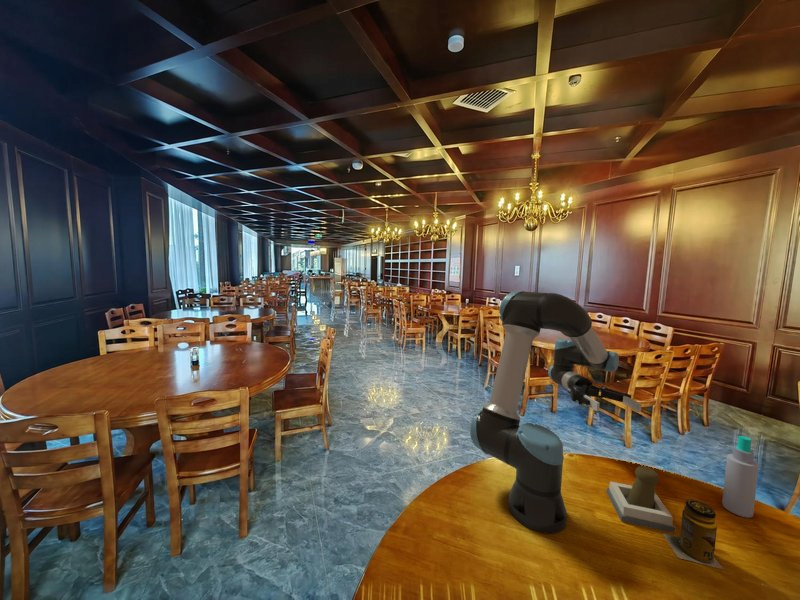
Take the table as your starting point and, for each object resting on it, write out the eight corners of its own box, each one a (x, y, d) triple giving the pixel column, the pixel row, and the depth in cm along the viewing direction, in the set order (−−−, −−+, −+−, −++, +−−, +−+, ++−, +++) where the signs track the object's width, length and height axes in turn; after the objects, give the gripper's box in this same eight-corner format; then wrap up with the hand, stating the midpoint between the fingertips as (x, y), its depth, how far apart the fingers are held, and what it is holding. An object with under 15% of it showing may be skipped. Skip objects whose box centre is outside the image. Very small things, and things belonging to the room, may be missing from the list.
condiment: (723, 569, 70) (728, 520, 69) (678, 558, 72) (682, 511, 71) (702, 543, 77) (707, 498, 76) (662, 534, 79) (666, 491, 78)
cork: (657, 516, 84) (665, 480, 82) (630, 507, 86) (638, 472, 84) (649, 500, 89) (657, 467, 87) (624, 492, 91) (632, 460, 90)
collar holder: (621, 521, 83) (622, 507, 83) (606, 492, 95) (607, 480, 94) (674, 533, 80) (676, 519, 79) (652, 501, 91) (653, 489, 91)
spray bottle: (755, 522, 84) (764, 446, 82) (724, 511, 88) (731, 438, 86) (749, 509, 89) (757, 437, 87) (720, 499, 92) (727, 430, 91)
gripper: (608, 394, 117) (656, 419, 96) (544, 393, 116) (579, 418, 95) (609, 375, 116) (658, 396, 95) (546, 374, 116) (581, 395, 94)
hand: (619, 407), depth 95 cm, fingers open, 13 cm apart
